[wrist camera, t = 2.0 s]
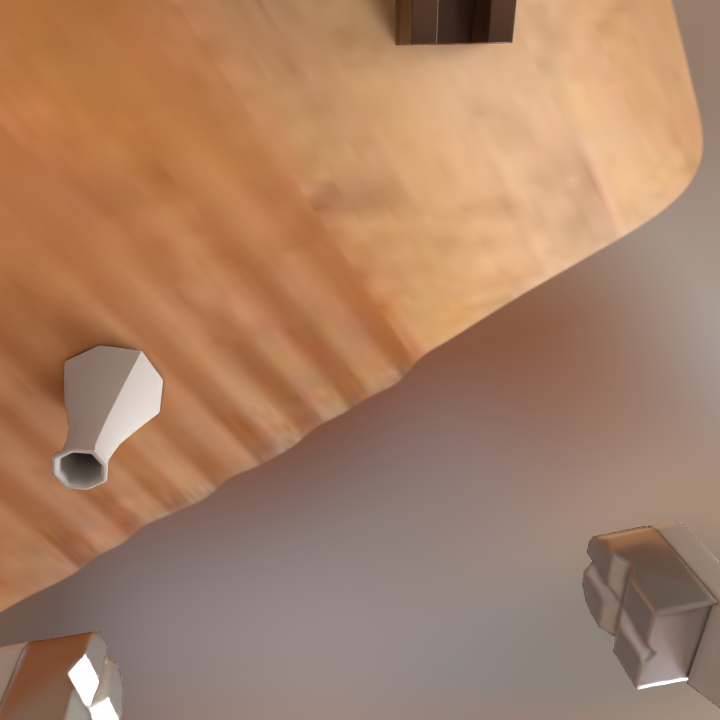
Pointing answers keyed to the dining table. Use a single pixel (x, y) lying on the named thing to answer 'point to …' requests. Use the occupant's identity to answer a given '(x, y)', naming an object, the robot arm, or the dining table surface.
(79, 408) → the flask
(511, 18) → the holder
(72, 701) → the robot arm
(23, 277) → the dining table surface
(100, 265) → the dining table surface
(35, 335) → the dining table surface
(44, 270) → the dining table surface
